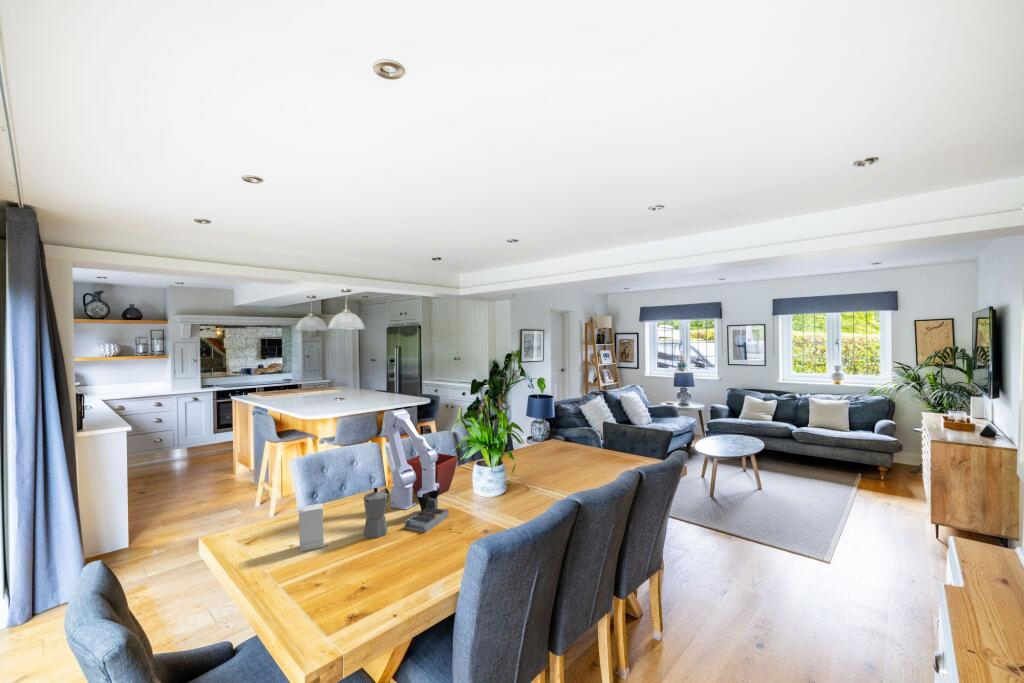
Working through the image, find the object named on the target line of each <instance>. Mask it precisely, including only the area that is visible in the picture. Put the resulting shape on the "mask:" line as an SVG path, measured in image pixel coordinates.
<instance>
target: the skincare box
mask: <svg viewBox="0 0 1024 683" xmlns="http://www.w3.org/2000/svg"><path fill="white" fill-rule="evenodd" d="M298 530H299V532H298V533H299V534H298V535H299V551H300V552H307V551H309V550H314V549H321V548H324V546H325V543H324V507H323V504H322V503H315V504H309V505H304V506H299V507H298Z"/></svg>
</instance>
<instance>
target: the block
mask: <svg viewBox="0 0 1024 683" xmlns="http://www.w3.org/2000/svg"><path fill="white" fill-rule="evenodd" d="M438 500H439V499H438V498H437V499H435V498H430V497H429V499H428V502H427V507H428V506H430V507H431V508H436V509H439V508H438Z"/></svg>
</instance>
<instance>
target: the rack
mask: <svg viewBox="0 0 1024 683" xmlns="http://www.w3.org/2000/svg"><path fill="white" fill-rule="evenodd" d="M449 511H450V510H449V509H448V508H446V509H441V508H438V509H436V508H431V507H430V506H428V507H427V508H426V509H423V510H421V509H420V511H418V512H416V513H415V514H414V515H413V514H412V515H411V517H408V518H407V519H405V520H404V529H405V530H410V531H414V532H418V533H424V534H425V533H428V532H429V531H430V530H431V529H433V528H435V527H436V526H437V525H439V524H440V523H442V522H443V521H444V520H446V519H447V518H449V516H450V515H449Z"/></svg>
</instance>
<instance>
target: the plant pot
mask: <svg viewBox="0 0 1024 683" xmlns="http://www.w3.org/2000/svg"><path fill="white" fill-rule="evenodd" d="M419 457H420V455H419V454H418V455H416V456H414V457H411V458H409V459H406V461H407V464H409V465H410V466H412V469H413V471H414V472H415V474H416V480H415V482H414V483H413V486H412V491H413V492H414V494H417V492H419V491H420V489H421V488H422V467H421V462H420V460H419ZM457 463H458V456H457V455H451V454H445V453H444V454H443V453H438V459H437V461H436V462H435V483H439V488H437V489H440V492H439V494H438V496H439V495H441V494H444V493H445V492H447V491H449V490H450V488H451V485H452V482H453V480H454V475H455V473H456V469H457V467H456V466H457ZM425 495H426V496H429V493H426V494H425Z"/></svg>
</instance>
